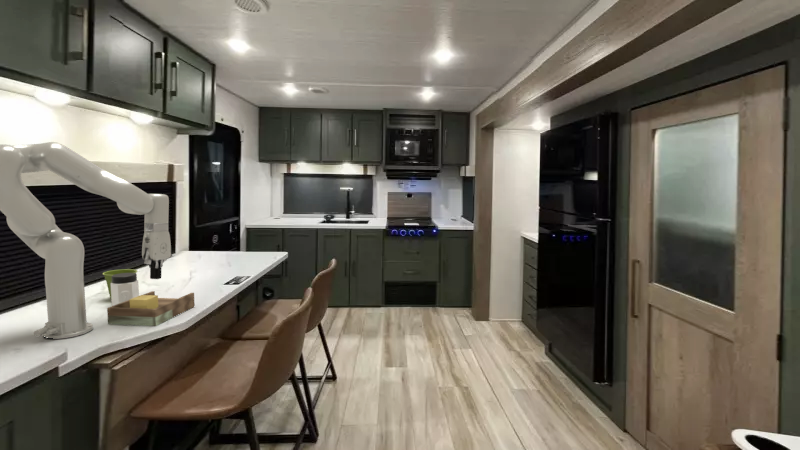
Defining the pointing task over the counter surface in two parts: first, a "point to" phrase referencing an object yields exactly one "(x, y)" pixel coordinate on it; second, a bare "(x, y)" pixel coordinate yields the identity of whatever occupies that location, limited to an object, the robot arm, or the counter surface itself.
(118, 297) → the jar
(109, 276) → the plant pot
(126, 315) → the wooden tray
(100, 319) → the counter surface
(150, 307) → the block
